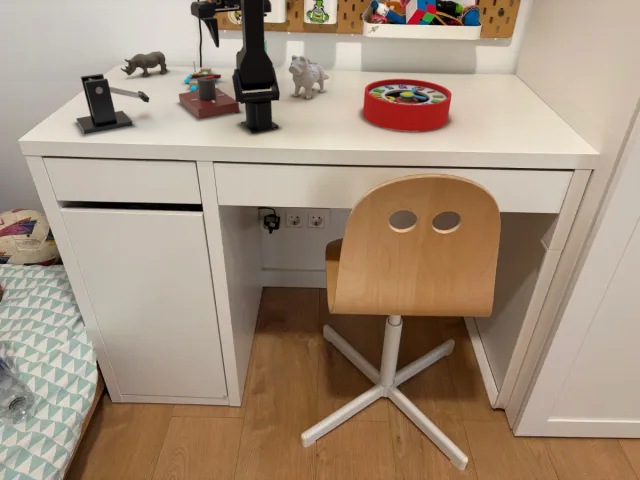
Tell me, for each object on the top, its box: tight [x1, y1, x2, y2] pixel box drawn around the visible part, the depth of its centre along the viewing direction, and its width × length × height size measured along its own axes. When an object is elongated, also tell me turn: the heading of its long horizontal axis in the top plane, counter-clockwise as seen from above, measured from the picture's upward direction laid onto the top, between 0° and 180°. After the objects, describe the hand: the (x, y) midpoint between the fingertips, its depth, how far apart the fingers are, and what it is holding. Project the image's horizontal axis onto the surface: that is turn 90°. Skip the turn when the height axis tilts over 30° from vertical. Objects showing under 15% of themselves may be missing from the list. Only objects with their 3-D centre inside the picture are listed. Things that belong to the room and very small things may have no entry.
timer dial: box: [197, 76, 217, 100], centre depth 116 cm, size 4×4×5 cm
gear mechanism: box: [184, 61, 222, 92], centre depth 135 cm, size 20×5×9 cm
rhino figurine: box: [120, 50, 168, 78], centre depth 139 cm, size 4×14×6 cm, turn 130°
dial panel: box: [178, 87, 240, 120], centre depth 118 cm, size 13×10×3 cm
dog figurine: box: [288, 54, 325, 100], centre depth 125 cm, size 5×13×11 cm, turn 150°
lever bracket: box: [75, 73, 133, 135], centre depth 106 cm, size 10×8×10 cm
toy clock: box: [362, 78, 453, 133], centre depth 115 cm, size 20×6×20 cm
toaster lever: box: [88, 78, 150, 103], centre depth 107 cm, size 12×5×2 cm, turn 122°
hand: (234, 45), depth 122 cm, fingers open, 9 cm apart
